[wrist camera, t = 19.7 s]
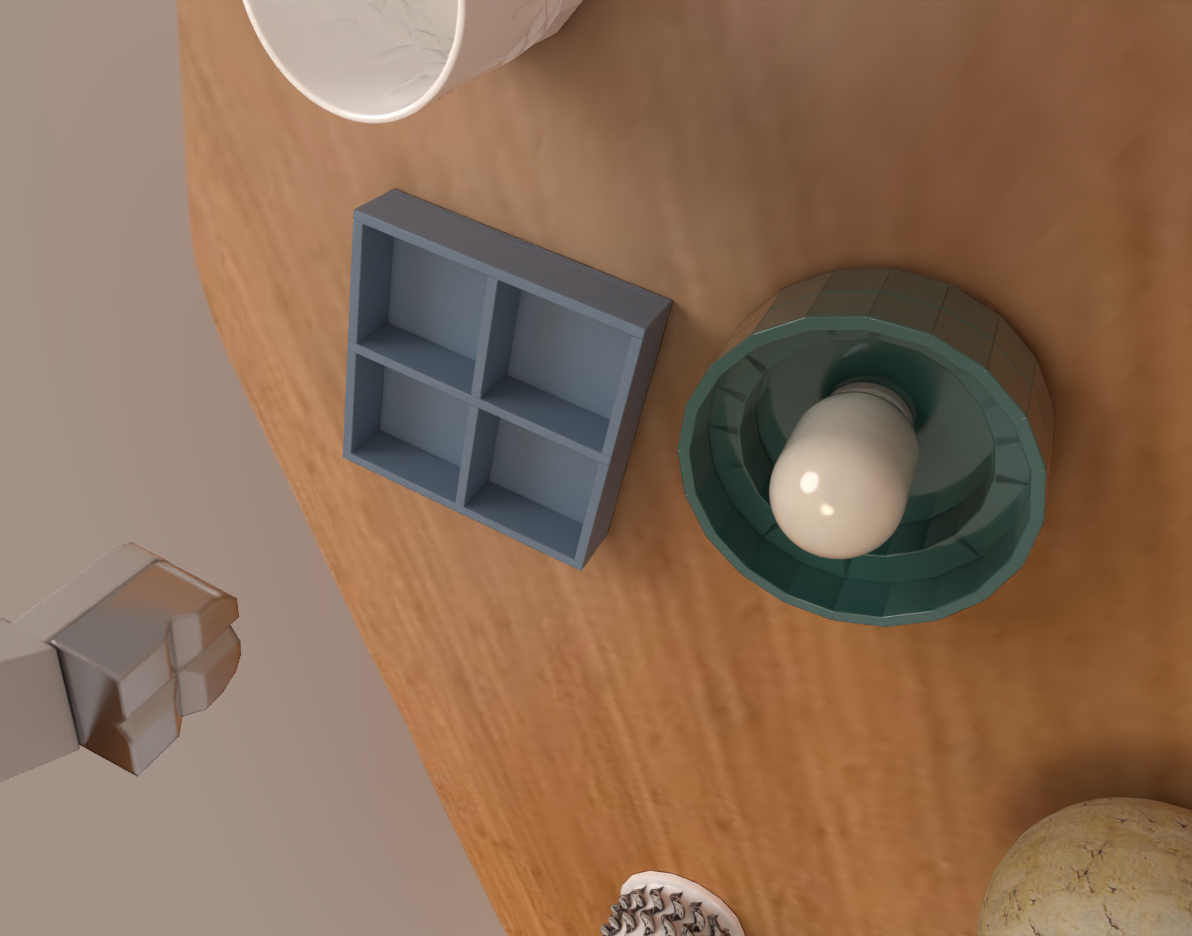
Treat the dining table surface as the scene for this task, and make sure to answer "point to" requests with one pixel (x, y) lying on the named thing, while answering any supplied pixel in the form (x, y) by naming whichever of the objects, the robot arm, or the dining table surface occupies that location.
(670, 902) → the decorative candle
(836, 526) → the cream capsule
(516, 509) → the divided tray
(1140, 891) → the fossilized egg
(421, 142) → the dining table surface
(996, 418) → the bowl
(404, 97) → the white cup
